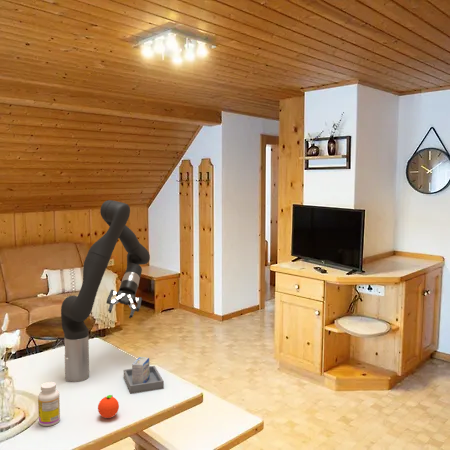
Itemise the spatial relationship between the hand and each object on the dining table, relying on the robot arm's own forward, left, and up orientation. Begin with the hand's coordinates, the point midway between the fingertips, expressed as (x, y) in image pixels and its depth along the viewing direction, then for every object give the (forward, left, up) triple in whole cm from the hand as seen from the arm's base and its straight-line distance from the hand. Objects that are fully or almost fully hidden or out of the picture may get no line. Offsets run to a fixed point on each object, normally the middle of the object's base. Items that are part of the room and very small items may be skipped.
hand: (120, 314), depth 197 cm
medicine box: (+5, -17, -23) cm, 29 cm away
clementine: (-10, -39, -24) cm, 46 cm away
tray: (+6, -17, -23) cm, 29 cm away
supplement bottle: (-29, -36, -24) cm, 52 cm away
